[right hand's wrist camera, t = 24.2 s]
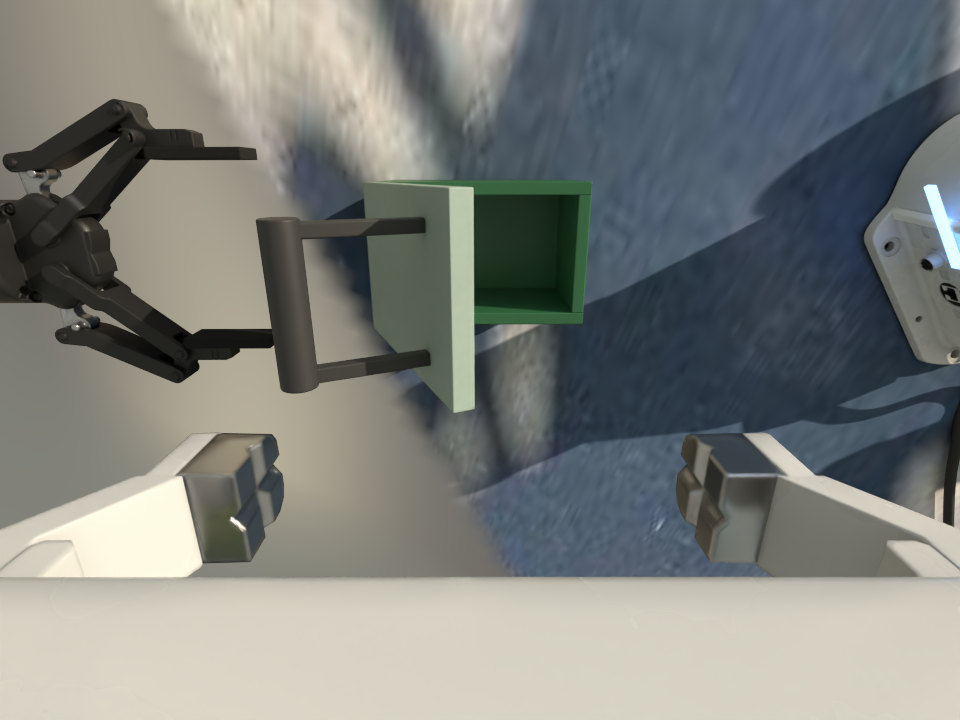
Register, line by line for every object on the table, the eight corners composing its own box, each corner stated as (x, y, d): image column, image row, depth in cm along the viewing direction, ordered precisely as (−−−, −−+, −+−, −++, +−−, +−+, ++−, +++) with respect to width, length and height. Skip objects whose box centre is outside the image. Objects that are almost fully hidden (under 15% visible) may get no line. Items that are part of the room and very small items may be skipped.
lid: (473, 187, 21) (253, 189, 17) (475, 409, 24) (291, 446, 21) (379, 181, 34) (244, 182, 30) (388, 325, 37) (268, 340, 34)
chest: (568, 180, 43) (592, 181, 34) (562, 294, 47) (582, 324, 37) (395, 180, 43) (372, 181, 34) (401, 294, 47) (382, 324, 37)
